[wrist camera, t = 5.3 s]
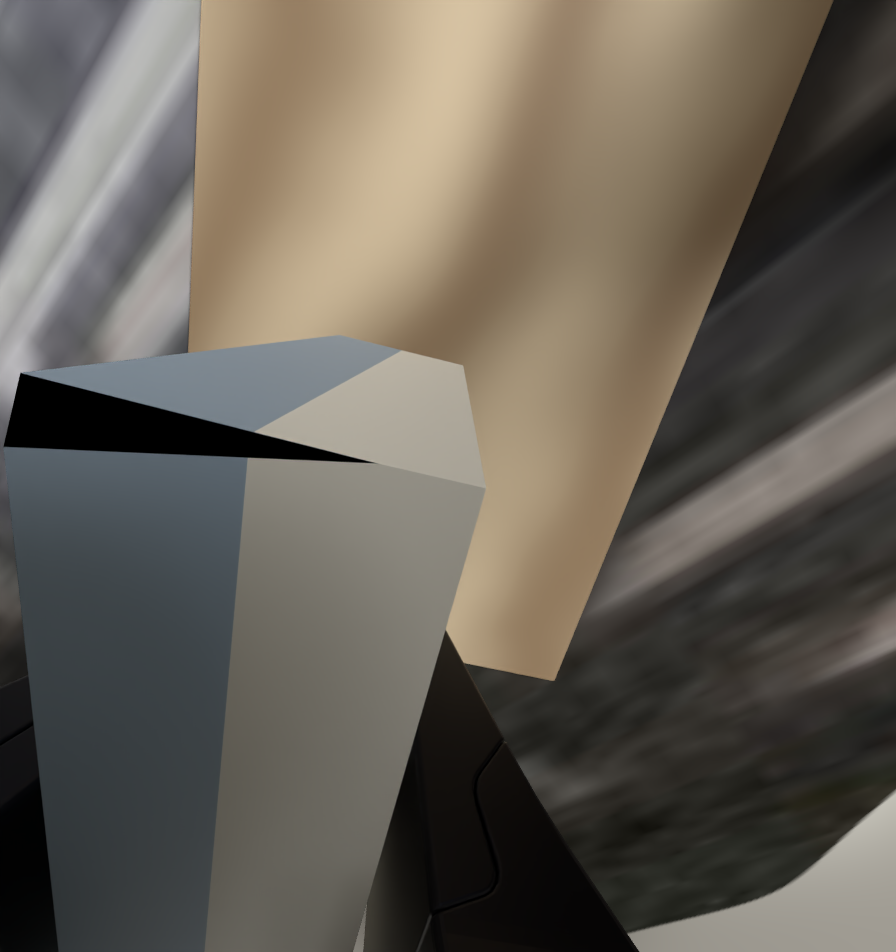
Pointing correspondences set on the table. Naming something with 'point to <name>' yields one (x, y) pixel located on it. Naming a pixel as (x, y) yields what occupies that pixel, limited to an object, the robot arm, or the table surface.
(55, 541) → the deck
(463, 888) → the robot arm
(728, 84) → the mat
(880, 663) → the table surface
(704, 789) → the table surface
